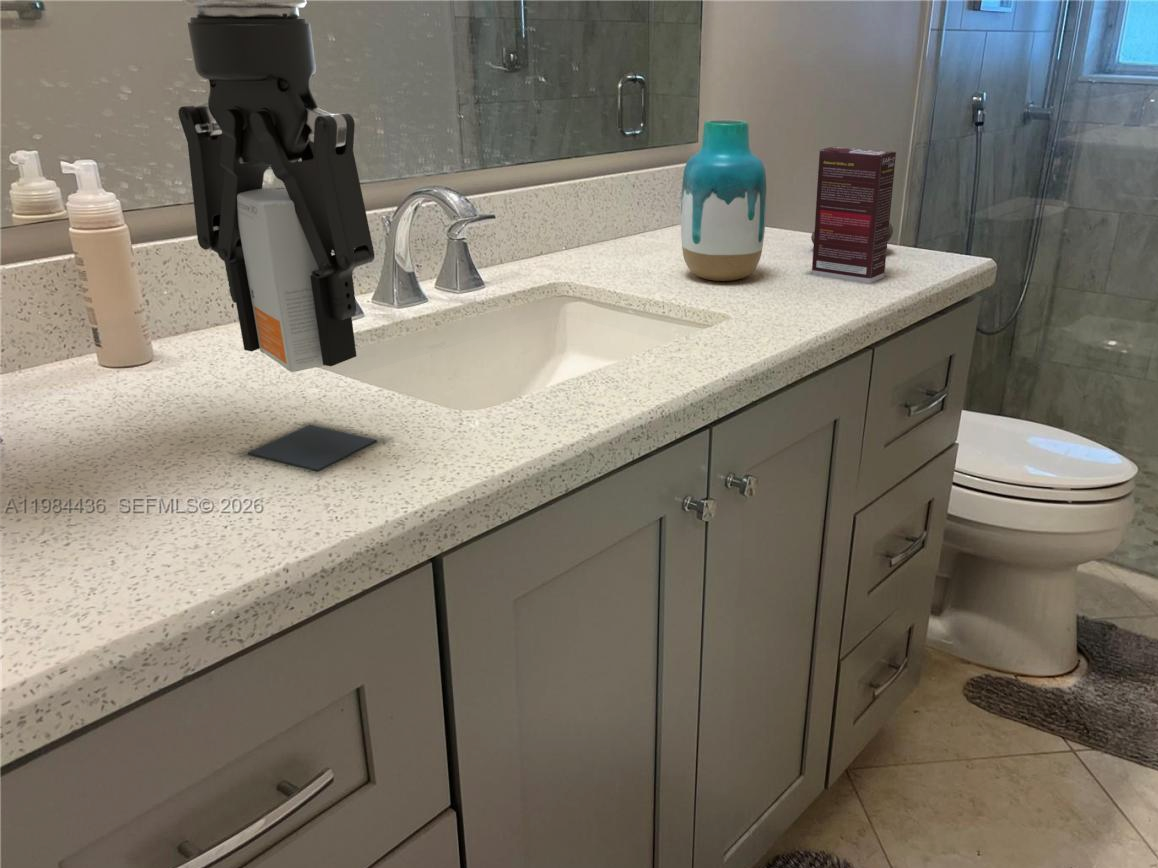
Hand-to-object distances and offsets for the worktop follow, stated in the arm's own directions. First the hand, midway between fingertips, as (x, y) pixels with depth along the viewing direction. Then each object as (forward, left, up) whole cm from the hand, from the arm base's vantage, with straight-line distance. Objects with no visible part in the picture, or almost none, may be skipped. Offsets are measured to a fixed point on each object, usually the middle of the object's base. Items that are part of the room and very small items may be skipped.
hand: (300, 352), depth 77 cm
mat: (0, 0, -8) cm, 8 cm away
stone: (+15, +90, -8) cm, 92 cm away
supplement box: (+19, +76, -8) cm, 79 cm away
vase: (+5, +67, -8) cm, 68 cm away
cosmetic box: (0, 0, -1) cm, 1 cm away
